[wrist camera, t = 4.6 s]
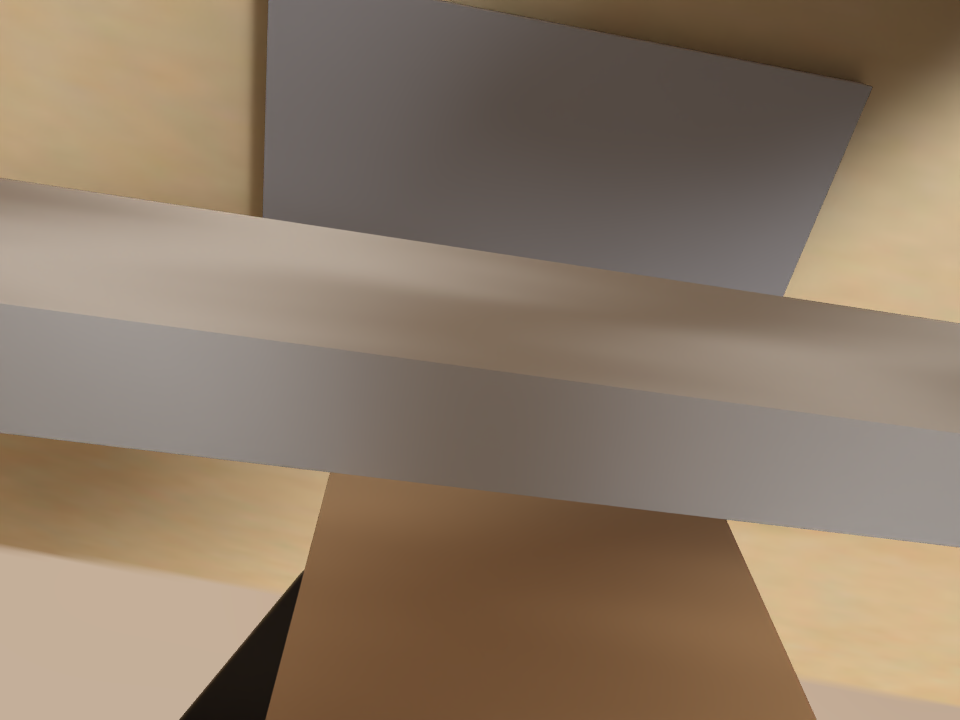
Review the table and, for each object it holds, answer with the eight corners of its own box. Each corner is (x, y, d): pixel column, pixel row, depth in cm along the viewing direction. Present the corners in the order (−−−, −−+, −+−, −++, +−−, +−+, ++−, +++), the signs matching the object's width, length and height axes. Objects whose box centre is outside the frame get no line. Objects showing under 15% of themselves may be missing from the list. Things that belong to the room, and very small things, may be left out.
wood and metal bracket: (1039, 335, 8) (1660, 754, 4) (780, 749, 12) (949, 1181, 8) (-46, 170, 7) (-826, 510, 3) (57, 686, 11) (-202, 1149, 7)
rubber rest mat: (862, 82, 17) (872, 86, 17) (710, 445, 23) (715, 454, 22) (274, -32, 16) (268, -32, 15) (262, 382, 21) (258, 391, 21)
